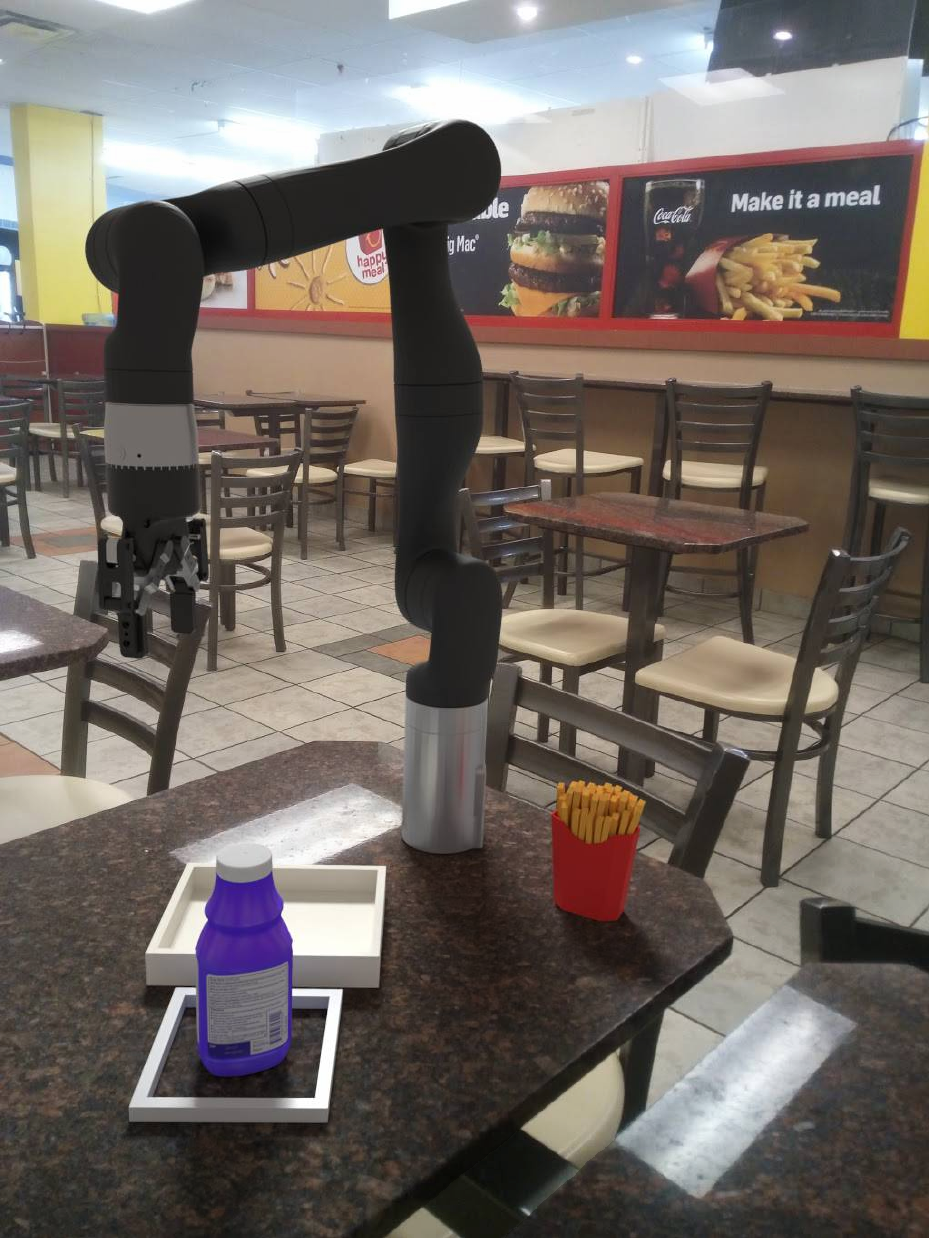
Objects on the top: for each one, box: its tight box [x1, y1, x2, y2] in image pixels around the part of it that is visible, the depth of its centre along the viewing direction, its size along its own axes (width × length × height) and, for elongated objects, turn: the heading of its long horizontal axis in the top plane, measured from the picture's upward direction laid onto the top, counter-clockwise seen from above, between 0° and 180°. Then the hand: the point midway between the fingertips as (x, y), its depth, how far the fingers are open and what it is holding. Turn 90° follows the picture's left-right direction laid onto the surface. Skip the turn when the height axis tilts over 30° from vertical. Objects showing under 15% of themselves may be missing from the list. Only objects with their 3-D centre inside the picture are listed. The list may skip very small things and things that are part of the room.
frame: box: [128, 986, 344, 1124], centre depth 78 cm, size 14×14×1 cm
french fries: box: [550, 780, 647, 922], centre depth 100 cm, size 9×4×13 cm, turn 63°
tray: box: [144, 862, 387, 989], centre depth 94 cm, size 20×16×3 cm
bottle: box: [195, 842, 293, 1078], centre depth 76 cm, size 7×6×17 cm
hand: (160, 644), depth 88 cm, fingers open, 8 cm apart
